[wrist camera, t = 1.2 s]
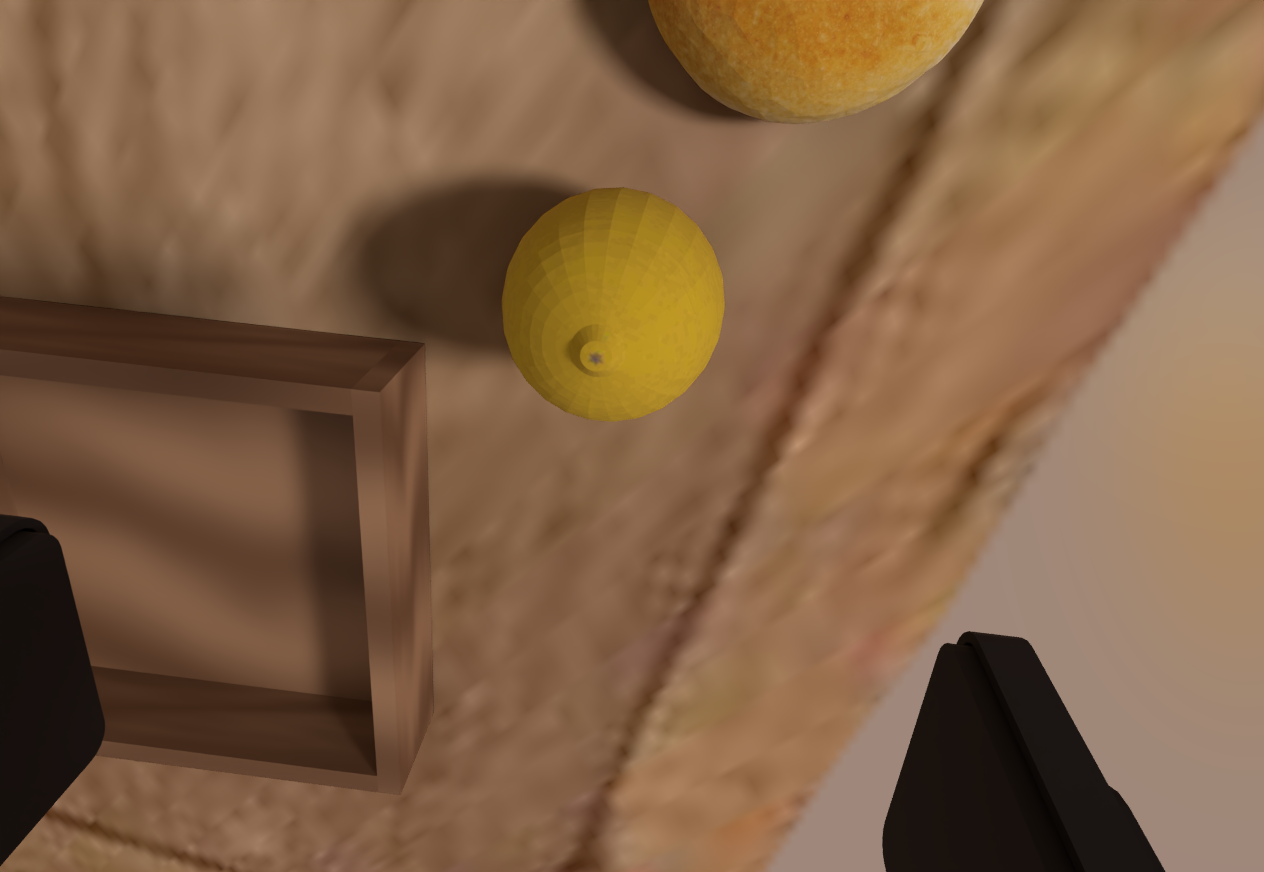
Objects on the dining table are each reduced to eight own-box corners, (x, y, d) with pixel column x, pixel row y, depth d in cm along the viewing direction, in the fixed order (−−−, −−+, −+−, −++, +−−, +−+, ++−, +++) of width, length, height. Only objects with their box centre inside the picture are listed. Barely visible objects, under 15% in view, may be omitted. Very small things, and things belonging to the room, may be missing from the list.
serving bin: (-52, 290, 26) (-171, 329, 23) (424, 343, 26) (379, 392, 22) (54, 664, 33) (-24, 739, 30) (433, 712, 33) (400, 795, 29)
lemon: (505, 297, 25) (426, 400, 18) (588, 129, 23) (535, 170, 16) (662, 383, 26) (646, 514, 19) (758, 229, 24) (781, 311, 16)
